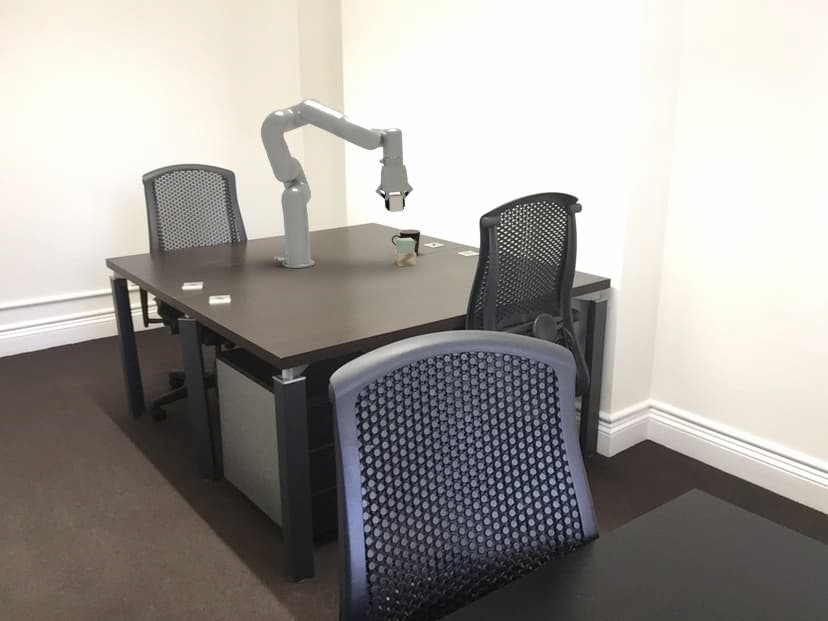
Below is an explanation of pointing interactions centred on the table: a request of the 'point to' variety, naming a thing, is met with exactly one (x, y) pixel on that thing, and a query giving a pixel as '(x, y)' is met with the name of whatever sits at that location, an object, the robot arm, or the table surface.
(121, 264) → the table surface
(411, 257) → the tower base
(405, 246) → the tower mid
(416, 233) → the coffee mug
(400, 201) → the top block
